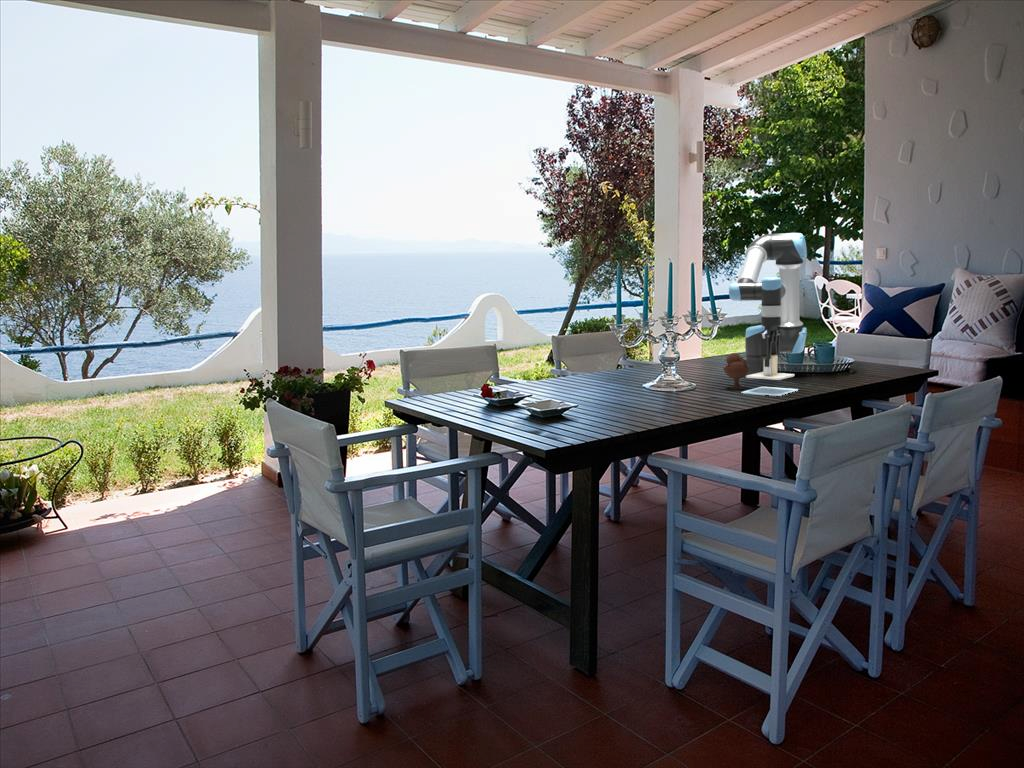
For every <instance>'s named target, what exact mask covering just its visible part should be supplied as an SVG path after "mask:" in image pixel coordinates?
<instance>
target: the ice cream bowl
mask: <svg viewBox="0 0 1024 768" xmlns="http://www.w3.org/2000/svg"><path fill="white" fill-rule="evenodd" d="M725 361H726V365H723V366H722V367H723V368H722V369H723V371H724V373H725V375H726V376H728V377H729V378H730V379H733V382H734V384H733V385H731V386H730V388H729V389H730V390H734V389H740V390H743V389H744V387H743V386H741V385H740V384H739V383H740V379H742V378H744V377H746V376H745V375H746V374H747V373H748V371H749V369H750V366H748V365H746V360H745V358H743V357H742V356H741V355H740V354H738V353H736V352H735V353H734V352H732V353H730V354H728V355H727V357H726V359H725Z"/></svg>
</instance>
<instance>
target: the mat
mask: <svg viewBox="0 0 1024 768" xmlns="http://www.w3.org/2000/svg"><path fill="white" fill-rule="evenodd" d="M798 390H800V389H798V388H786V387H775V386H774V387H773V386H759V387H755V388H751V389H747V390H744V391H741V394H742V393H743V394H744V395H755V396H765V395H769V396H768V397H776V396H780V397H782V395H783V396H786V395H789V394H788V393H790V394H793V393H796V392H799V391H798ZM795 391H796V392H795ZM792 392H793V393H792ZM785 394H786V395H785Z"/></svg>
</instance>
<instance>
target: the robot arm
mask: <svg viewBox="0 0 1024 768" xmlns="http://www.w3.org/2000/svg"><path fill="white" fill-rule="evenodd" d="M744 257H745V260H744V263H743V264H742V265H743V266H742V268H741V271H740V274H739V277H738V280H737V281H735V282H731V283H730V284H729V287H728V295H729V299H730V300H731V301H739V302H743V301H747V302H748V301H750V302H751V301H761V307H760V310H761V316H762V317H761V319H760V320H761V324H759V325H754V326H749V327H747V328H746V329H745V337H744V339H745V343H744V344H745V358H744V359H745V360H746V365H748V366H750V369H749V371H748V373H747V374H746V375H745V376H744V377H746V376H747V375H751V374H756V373H760V372H764V375H771V362H772V359H770V357H771V355H778V358H780V354H793V355H794V354H801V353H802V352H804V348H805V345H806V339H807V333H808V332H807V331H808V330H807V327H805V326H804V322H802V321H801V320H800V317H801V316H800V267H801V266H802V265H803V263H804V260H806V259H807V257H808V250H807V243H806V238H805V235H803V233H801V232H785V233H783V232H782V233H767V234H763V235H760V236H759V237H757V238H756V239H754V240H753V241H752V242H751V243H750V244H749V245H748V247H747V248H746V251H745V252H744ZM766 261H775V266H776V267H778V271H779V272H778V273H779V276H778V277H764V278H762V279H761V281H759V282H758V278H759V276H760V272H761V270H762V267H763V264H764V263H765V262H766Z"/></svg>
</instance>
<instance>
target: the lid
mask: <svg viewBox="0 0 1024 768" xmlns="http://www.w3.org/2000/svg"><path fill="white" fill-rule="evenodd" d="M778 356H779V355H771V357H770V359H772V362H771V375H764V372H760V373H756V374H751V375H747V376H745V378H746V379H761V380H773V381H775V380H776V381H782V380H785V379H788V378H793V377H795V373H785V372H778V358H779V357H778Z"/></svg>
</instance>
